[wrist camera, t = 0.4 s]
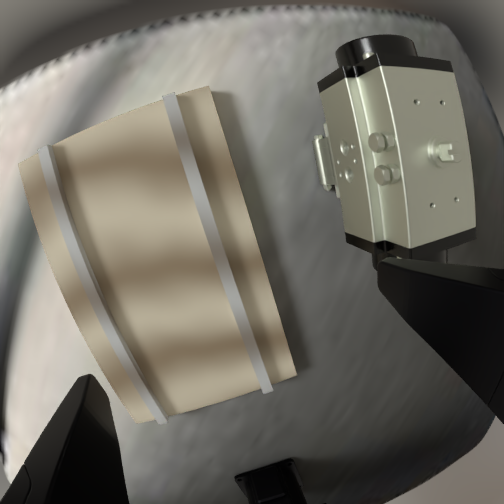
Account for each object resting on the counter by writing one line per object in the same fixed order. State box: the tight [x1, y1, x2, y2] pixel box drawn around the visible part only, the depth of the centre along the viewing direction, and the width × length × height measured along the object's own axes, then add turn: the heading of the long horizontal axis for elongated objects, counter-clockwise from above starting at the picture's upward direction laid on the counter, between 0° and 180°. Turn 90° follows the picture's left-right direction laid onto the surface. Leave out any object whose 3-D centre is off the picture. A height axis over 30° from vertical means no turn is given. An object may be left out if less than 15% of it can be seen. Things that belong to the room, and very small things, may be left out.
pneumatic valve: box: [312, 35, 476, 270], centre depth 16 cm, size 6×12×12 cm, turn 12°
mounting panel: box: [18, 86, 297, 425], centre depth 20 cm, size 22×14×2 cm, turn 17°
